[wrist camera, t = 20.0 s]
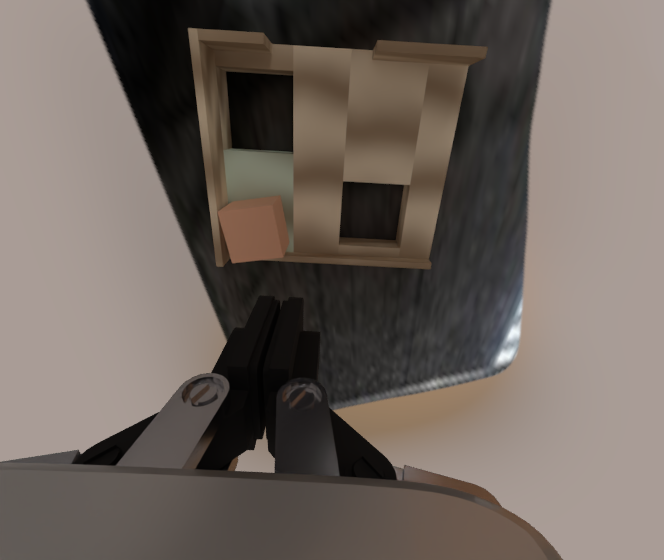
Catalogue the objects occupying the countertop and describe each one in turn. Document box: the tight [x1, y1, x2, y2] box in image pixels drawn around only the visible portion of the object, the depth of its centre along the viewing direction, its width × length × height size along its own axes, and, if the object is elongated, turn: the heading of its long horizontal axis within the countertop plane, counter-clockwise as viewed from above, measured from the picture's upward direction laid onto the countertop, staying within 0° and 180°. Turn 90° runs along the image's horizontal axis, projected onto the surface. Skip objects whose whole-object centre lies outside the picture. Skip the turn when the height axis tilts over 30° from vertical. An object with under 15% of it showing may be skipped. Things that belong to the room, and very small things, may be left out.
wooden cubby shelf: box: [188, 28, 488, 269], centre depth 27 cm, size 17×20×6 cm
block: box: [218, 195, 289, 263], centre depth 27 cm, size 4×4×4 cm
